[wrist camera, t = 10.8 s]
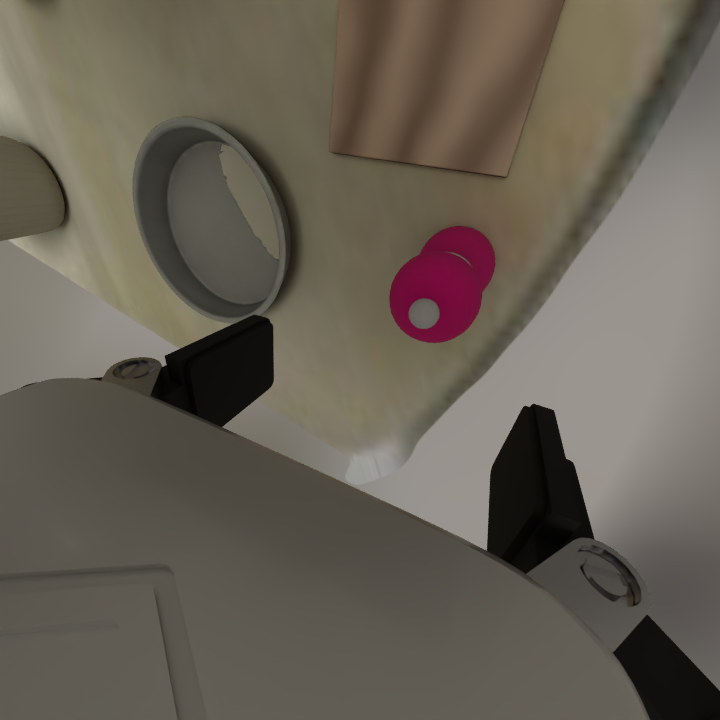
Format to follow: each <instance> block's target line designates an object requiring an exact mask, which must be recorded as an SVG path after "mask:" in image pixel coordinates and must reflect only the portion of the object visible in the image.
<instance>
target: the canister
mask: <svg viewBox="0 0 720 720" xmlns="http://www.w3.org/2000/svg"><path fill="white" fill-rule="evenodd" d="M64 212H65V204H64V199H63V194H62V192H61V188H60V187H59V184H58V182H57V180H56V178H55V176H54V175H53V173H52V171H51V170H50V169H49V167H48V165H47V164H46V163H45V161H44V160H43V159H42V158H41V157H40V156H39V155H38V154H37V153H35V152H34V151H33V150H32V149H30V148H29V147H27V146H26V145H24V144H22V143H20V142H17V141H15V140H12V139H10V138H6V137H3V136H0V241H3V240H8V239H14V238H19V237H24V236H28V235H33V234H38V233H43V232H46V231H49V230H52V229H55V228H56V227H58V226H59V225H60V224H61V223H62V221H63V219H64V216H65V213H64Z"/></svg>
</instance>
